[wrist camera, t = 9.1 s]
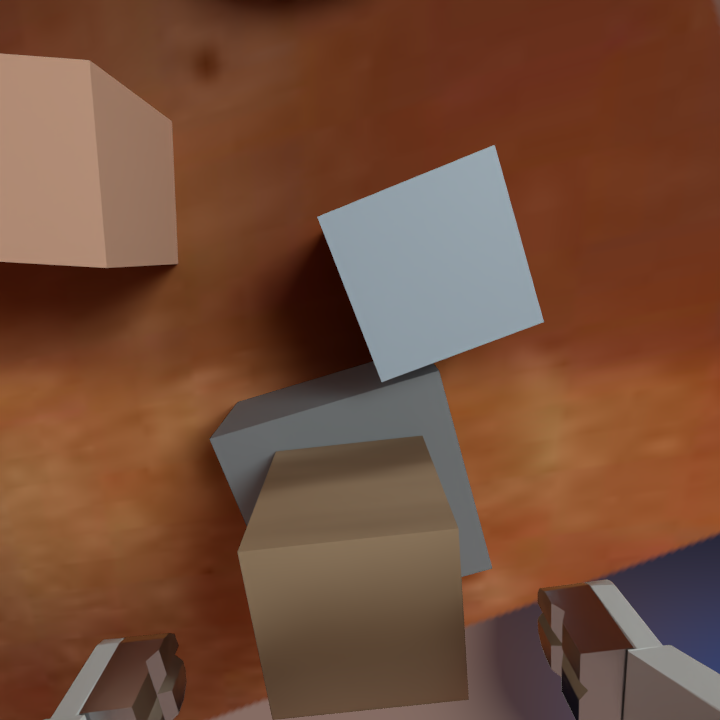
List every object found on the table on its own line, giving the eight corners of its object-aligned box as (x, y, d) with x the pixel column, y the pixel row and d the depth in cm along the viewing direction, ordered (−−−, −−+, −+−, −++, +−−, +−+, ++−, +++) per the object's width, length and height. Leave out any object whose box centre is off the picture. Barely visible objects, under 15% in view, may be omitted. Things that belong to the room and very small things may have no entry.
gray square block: (239, 399, 18) (209, 439, 14) (419, 345, 18) (439, 370, 14) (300, 552, 20) (288, 623, 16) (464, 506, 20) (492, 568, 16)
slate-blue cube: (327, 227, 16) (317, 216, 11) (450, 178, 16) (494, 144, 11) (373, 346, 17) (381, 382, 13) (489, 302, 17) (543, 321, 12)
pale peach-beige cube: (30, 112, 15) (-122, 44, 10) (172, 121, 15) (89, 60, 10) (47, 256, 16) (-82, 257, 11) (179, 263, 16) (107, 268, 12)
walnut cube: (276, 451, 14) (237, 552, 10) (422, 435, 14) (458, 528, 9) (297, 574, 16) (272, 719, 11) (432, 560, 16) (468, 699, 11)
